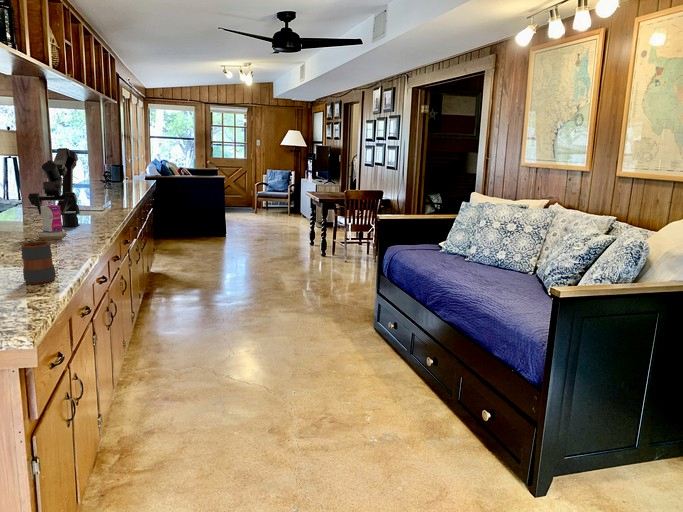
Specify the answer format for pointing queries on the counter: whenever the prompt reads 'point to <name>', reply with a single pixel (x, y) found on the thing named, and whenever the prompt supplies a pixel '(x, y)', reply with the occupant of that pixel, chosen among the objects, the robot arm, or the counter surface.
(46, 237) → the pedestal
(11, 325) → the counter surface
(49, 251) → the banded dark cylinder
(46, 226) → the supplement box
